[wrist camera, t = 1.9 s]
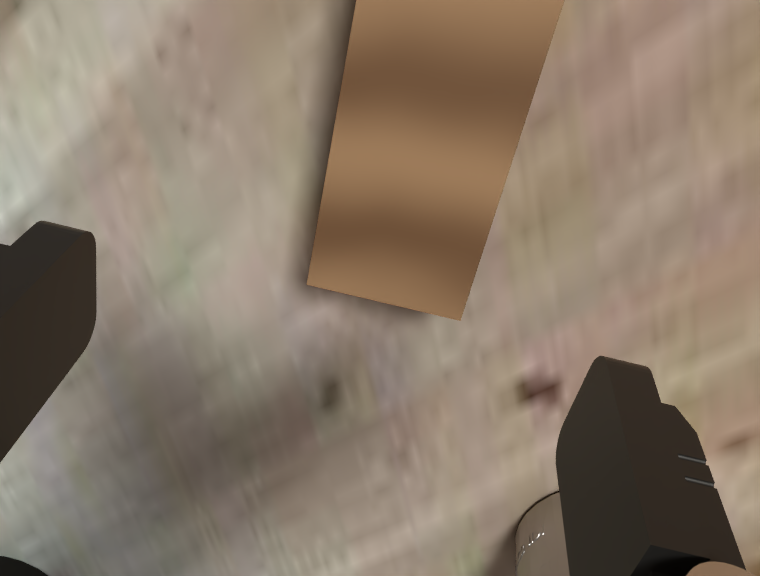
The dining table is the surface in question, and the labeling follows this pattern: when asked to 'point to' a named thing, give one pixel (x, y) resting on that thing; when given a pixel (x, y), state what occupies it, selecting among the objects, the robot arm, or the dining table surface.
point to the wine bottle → (17, 568)
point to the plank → (425, 145)
